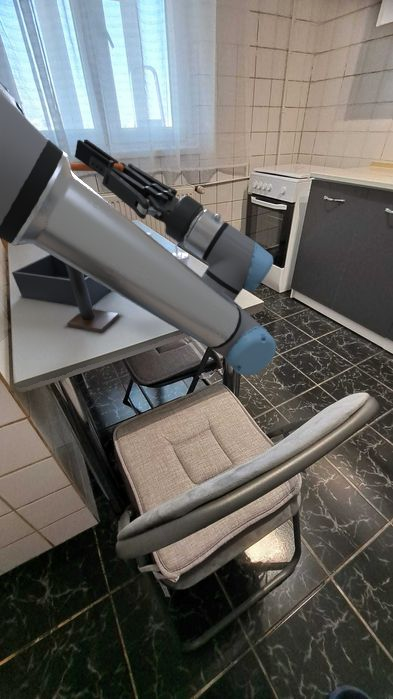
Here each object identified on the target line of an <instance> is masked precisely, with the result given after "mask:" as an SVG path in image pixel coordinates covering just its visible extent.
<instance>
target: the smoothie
mask: <svg viewBox="0 0 393 699" xmlns="http://www.w3.org/2000/svg"><path fill="white" fill-rule="evenodd" d="M174 245H175V247H174V248H175V251H173V252H171V253H172V254H173V255H174V256H176V257H177V258H178V259H179V260H181V261H182V262H183V263H184V264H186V265H187V266H188V263H189V262H188V261H189V259H190V256H189V253H188V252H184V251H179V249H178V248H179V247H178V242H177V241H175V240H174Z"/></svg>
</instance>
